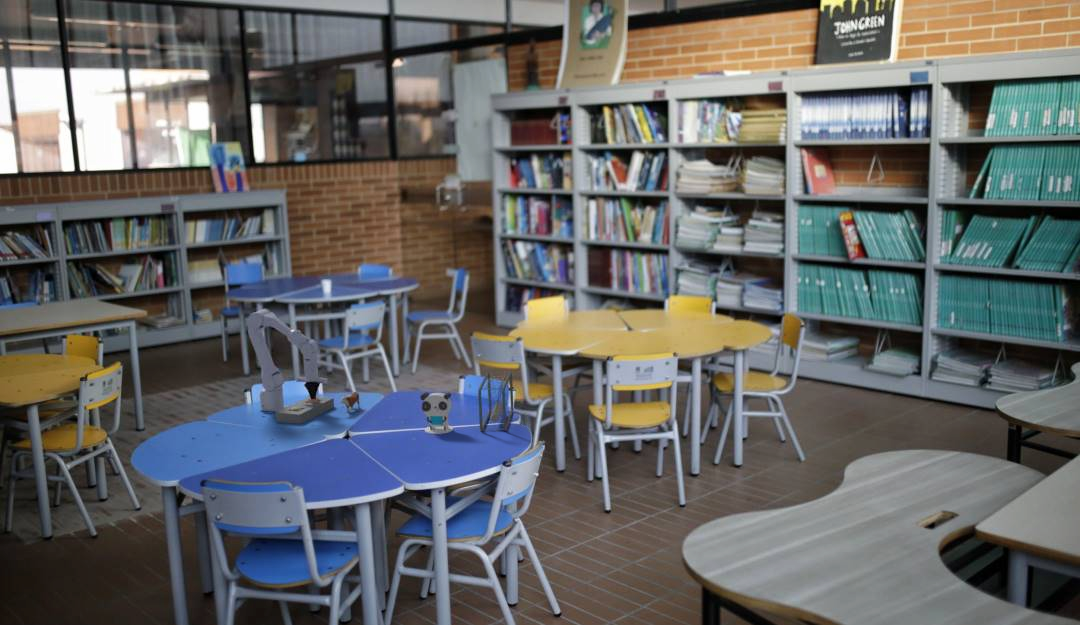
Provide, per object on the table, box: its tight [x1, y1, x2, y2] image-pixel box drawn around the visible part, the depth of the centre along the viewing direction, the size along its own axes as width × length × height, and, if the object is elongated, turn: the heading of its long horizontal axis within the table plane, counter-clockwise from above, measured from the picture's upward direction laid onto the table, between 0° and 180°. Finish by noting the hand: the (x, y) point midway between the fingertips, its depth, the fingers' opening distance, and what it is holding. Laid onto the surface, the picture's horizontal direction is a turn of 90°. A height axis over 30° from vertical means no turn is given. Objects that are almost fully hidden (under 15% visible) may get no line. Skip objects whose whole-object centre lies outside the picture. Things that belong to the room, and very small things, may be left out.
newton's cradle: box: [477, 371, 514, 432], centre depth 390 cm, size 30×10×18 cm, turn 176°
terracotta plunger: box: [308, 396, 319, 403], centre depth 417 cm, size 4×4×4 cm
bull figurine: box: [339, 391, 360, 414], centre depth 414 cm, size 4×13×8 cm, turn 163°
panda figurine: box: [420, 391, 454, 435], centre depth 382 cm, size 12×11×15 cm
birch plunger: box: [291, 407, 302, 411], centre depth 406 cm, size 4×4×4 cm
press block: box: [275, 396, 335, 425], centre depth 412 cm, size 12×26×4 cm, turn 160°
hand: (313, 398), depth 417 cm, fingers closed, pressing on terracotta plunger
